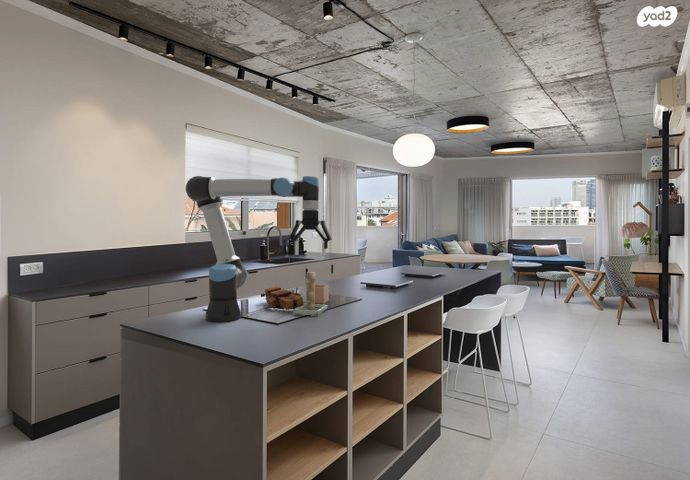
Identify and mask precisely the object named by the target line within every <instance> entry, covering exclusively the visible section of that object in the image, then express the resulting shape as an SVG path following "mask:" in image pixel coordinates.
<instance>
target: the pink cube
mask: <svg viewBox="0 0 690 480" xmlns="http://www.w3.org/2000/svg"><path fill="white" fill-rule="evenodd" d="M329 289H330V285H328V284H315V304H325V303H327V302H329V300H330V298H329V297H330V295H329V294H330V290H329Z"/></svg>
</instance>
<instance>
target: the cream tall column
mask: <svg viewBox="0 0 690 480" xmlns="http://www.w3.org/2000/svg"><path fill="white" fill-rule="evenodd" d="M315 285H316V272H315V271H306V285H305V286H306V289H305V291H306V294H305V295H306V303H305V304H306V307H305V308H306V309H305V310H311V311H315V310H316V307H315V304H316V303H315Z"/></svg>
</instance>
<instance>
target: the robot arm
mask: <svg viewBox="0 0 690 480" xmlns="http://www.w3.org/2000/svg"><path fill="white" fill-rule="evenodd" d="M319 185H320V184H319V177H318V176H315V175H305V176H302V179H301V180H292V179H289V178H287V177H279V178H277V177H276V178H269V177H268V178H267V177H266V178H225V179H222V178H220V179H216V178H215V177H214V176H203V175H202V176H201V175H195V176H193V177H190V178H189V179H188V180H187V182H186V184H185V193H186V195H187V197H188V198H189V199H190V200H192V201H193V202H196V205H197V208H198V210H200V211H201V212H202V213H203V216H204V221H205V223H206V227H207V230H208V233H209V237H210V240H211V244H212V247H213V249H214V253H215V256H216V260H217V261H216V263H215V264H214V265H212V266H211V267H210V268H209V269H208V293H209V297H208V298H209V301H208V305H207V308H206V312H205V320H206V321H207V322H212V323H214V322H215V323H223V322H227V323H228V322H232V321H237V320H239V319H241V318H242V312H241V308H240V306H239V303H238V298H237V297H238V296H237V295H238V291H237V290H238V289H239V288H241V287H242V286H243V285H244V284H245V283H246V281H247V278H248V272H247V268H246V267H245V266H244V265H243V264H242V260H241V258H240V257H239V256H237V255H236V253H235V248H234V246H233V243H232V239H231V235H230V233H229V229H228V225H227V222H226V218H225V215H224V212H223V208H222V206H223V204H224V201H223V198H224V197H229V198H230V197H264V196H265V197H266V196H267V197H271V196H272V197H273V196H274V197H275V196H276V197H282V198H293V197H294V198H296V197H297V198H298V197H299V198H300V197H301V198H302V203H301V204H302V208H301V209H302V212H301V213H302V214H301V215H302V216H301V217H302V220H300V219H296V220H295V225H294V226H293V229H292V231H291V233H290V236H289V240H290V241H292V247H293V249H294V255H295V256H298V255H299V240H298V239H299V238H300V237H301V236H302V235H303V233H305V231H306V230H307V231H314V230H315V232H316V233H317V234H318V236H319V237H320V238H321V240H323V241H322V242H321V244H322V245H321V256H322V257H325V256H326V250H327V249H328V248H329V247H328V243H329V241H332V236H331V234H330V232H329V229H328V227H327V225H326V221H325V220H324V219H322V220H319V218H320V217H319V216H320V215H319V209H320V208H319V198H320V197H319V196H320V190H319V189H320V186H319ZM301 224H302V227H301V228H300V230H299V227H300V226H301ZM319 224H320V227H321V228H322V230H321V229H320V227H319ZM298 230H299V231H298ZM323 232H324V233H323Z"/></svg>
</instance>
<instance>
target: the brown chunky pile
mask: <svg viewBox="0 0 690 480" xmlns="http://www.w3.org/2000/svg"><path fill="white" fill-rule="evenodd" d="M295 289H296V290H295V292H293V291H290V290H288V289H285V288H281V287H280V286H277V285H276V286H273V287H267V288H265V289H264V292H263V293H260V297H261V298H265V301H266V303H267V304H268V306H269V307H271V308H272V309H274V308H276V307H278V308H282V309H284V310H286V311H288V310H294V309H295V308H297V307H300V306H303V305H304V304H305V301H304V299H303V296H301V293H300V292H299V293H298V287H296V288H295Z"/></svg>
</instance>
